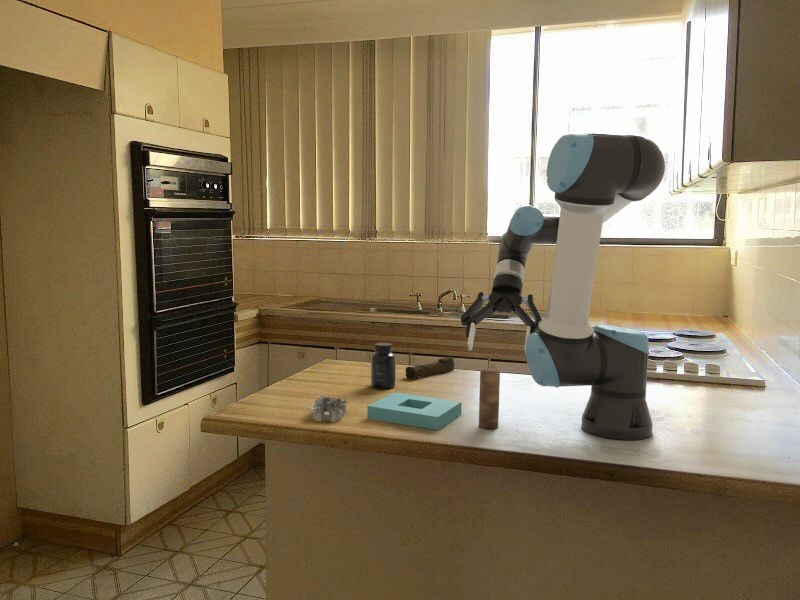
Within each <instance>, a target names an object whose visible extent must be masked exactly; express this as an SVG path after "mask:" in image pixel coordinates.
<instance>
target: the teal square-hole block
mask: <svg viewBox="0 0 800 600" xmlns="http://www.w3.org/2000/svg"><path fill="white" fill-rule="evenodd" d="M462 404H463V403H462V401H458V400H450V399H444V398H443V399H442V398H438V397H437V398H436V397H432V396H431V397H430V396H425V395H424V396H423V395H418V394H417V395H416V394H411V393H410V394H409V393H402V392H397V391H395V392H393V393H391V394H388V395H387V396H385V397H383V398H380V399H378V400H377V401H374V402H373V403H371V404H369V405H367V411H366V412H367V416H366V417H367V419H369V420H375V421H381V422H387V423H392V424H399V425H405V426H410V427H411V426H412V427H417V428H418V427H419V428H421V429H423V428H424V429H429V430H436V431H439V430H440V429H442V428H443V427H444V426H446V425H448V424H449V423H451V422H452V421H453V420H455V419H457V418H458V417H459V416H461V415H462Z"/></svg>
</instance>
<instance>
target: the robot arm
mask: <svg viewBox="0 0 800 600" xmlns="http://www.w3.org/2000/svg"><path fill="white" fill-rule="evenodd" d="M549 154H550V155H549V157H548V162H547V164H546V166H547V167H546V175H545V176H546V178H547V179H546V185H547V186H548V189H549V190H550V191H551V192H553V193H554V197H553V198H554V201H556V203H557V205H558V206H559V207H560V213H559V214H543V211H542V210H541V209H539V208H538V207H535V206H532V205H529V204H526V205H522V206H520V207H518V208H517V209H516V210H515V212H514V213H513V215H512V216H511V218H510V221H509V225H508V227H507V230H506V232H505V233H503V235H502V236H501V239H500V242H499V243H498V254H497V261H496V266H495V270H494V271H495V272H494V276H493V282H492V287H491V293H490V294H488V295H487V294H484V292H482V291H480V292H478V294H477V297H476V299H475V300H474V301H473V302H472V303H471V305H470V306H469V307H468V308H467V310H465V311H464V313H463V314H462V315H461V316H460V322H461V325H462V326H464V327H466V328H465V337H466V338H467V349H468V351H470V352H472V351H473V345H474V341H475V340H474V339H475V334H476V331H477V330H476V329H477V328H476V326H477V325H478V324H480V322H482V321H484V319H486V318H487V317H488V316H490V315H493V314H494V313H495V312H497V313H507V314H508V313H512V312H513V314H514V315H515V316H517V317H518V318H519V319H520V321H522V323H523V324H524V325H525V326H526V332H525V333H526V334H525V338H524V339H525V341H524V347H523V348H524V355H525V356H526V357H525V358H526V364H527V366H528V370H529V374H530V375H531V377H532V379H533V380H534V382H535V383H536V384H538V386H541V387H552V388H553V387H554V388H560V387H562V388H563V387H583V386H587V387H588V386H591V387H590V394H589V395H590V396H589V397H588V401H587V402H586V405H585V408H584V411H583V412H582V416H581V425H580V426H581V429H583V430H584V431H585V432H587V433H589V434H591V435H594V436H597V437H601V438H606V439H611V440H621V441H634V440H636V441H637V440H643V439H646V438H649V437H650V436H652V435H653V421H652V417H651V414H650V410H649V406H648V402H647V399H646V398H647V397H646V396H647V380H648V364H649V355H650V348H649V347H650V345H649V338H648V336H647V335H646V333H644V332H642V331H639V330H636V329H630V328H626V327H621V326H614V325H609V324H608V325H607V324H596V325H595V326H594V327H592V325H590V323H589V315H590V309H591V308H590V307H591V303H592V302H591V301H592V296H593V288H594V283H595V275H596V269H597V265H598V264H597V262H598V255H599V251H600V250H599V248H600V243H601V236H602V231H603V224H604V223H605V222H607V221H608V220H610V219H611V218H612V217H613V216H615V215H617V214H618V213H619V212H620V211H622V210H623V209H624V208H626V207H627V206H628V205H630V204H631V203H632V202H639V201H642V200H644V199H645V198H647V197H648V196H649V195H651V194H652V193H653V192H654V191H656V190H657V188H658V187H659V186H660V184H661V183H662V181H663V178H664V176H665V171H666V162H665V158H664V154H663V152H662V151H661V149H660V147H659V146H658V145H657V144H656V142H654V141H653V140H651V139H650V138H649V137H647V136H644V135H642V134H636V133H615V132H614V133H611V132H610V133H609V132H596V131H595V132H593V131H576V132H567V133H565V134H564V135H562V136H561V137H560V138H558V139H557V141H556V142H555V144H554V145H553V147H552V149H551V151H550V153H549ZM534 245H555V248H554V249H555V251H554V258H553V264H552V265H553V267H552V275H551V282H550V288H549V289H550V290H549V295H548V304H547V312H546V313H547V314H546V316H545V317H543V318H542V316H541V315H540V313H539V311H538V309H537V307H536V305H535V303H534V297H533V296H534V295H533V294H532V293H531V294H528V295H527V296H522V292H523V285H524V284H523V283H524V277H525V271H526V263H527V258H528V255H529V253H530V251H531V249H532V247H533V246H534ZM487 301H488V302H487ZM486 302H487V303H486ZM522 303H523V304H525V306H526V307H528V310H529V312H530V314H531V316H532V317H530V316H529V315H528V314H527V312H526V311H525V310H524V309H523V308H522V306H521V305H522ZM485 304H486V305H485ZM483 305H485V306H484V307H482V306H483ZM532 318H533V319H532Z"/></svg>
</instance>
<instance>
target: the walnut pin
mask: <svg viewBox="0 0 800 600" xmlns="http://www.w3.org/2000/svg"><path fill="white" fill-rule="evenodd" d="M500 377H501V370H500V369H498V368H493V367H492V368H491V367H490V368H489V367H486V368H481V369H480V370H479V397H478V398H479V400H478V402H479V403H478V407H479V408H478V428H480V429H483V430H488V431H490V430H491V431H493V430H497V429H498V428H499V412H500V411H499V410H500V385H501V384H500V381H501V378H500Z"/></svg>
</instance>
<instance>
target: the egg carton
mask: <svg viewBox="0 0 800 600" xmlns="http://www.w3.org/2000/svg"><path fill="white" fill-rule="evenodd" d="M347 404H348V401H347V399H346V398H345V399H343V400H341V398H340V397H337V398H336V397H332V396H328V397H327V396H324V395H319V396H318V398H317V399H316V400H315V401H314V403H313V404H312V405H310V408H311V412H312V420H314V421H316V422H322V421H329V422H333V423H336V422H339V421H342V420H343V419H342V418H343V417H344V414H345V413H346V412H347V409H346V408H347Z"/></svg>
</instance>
